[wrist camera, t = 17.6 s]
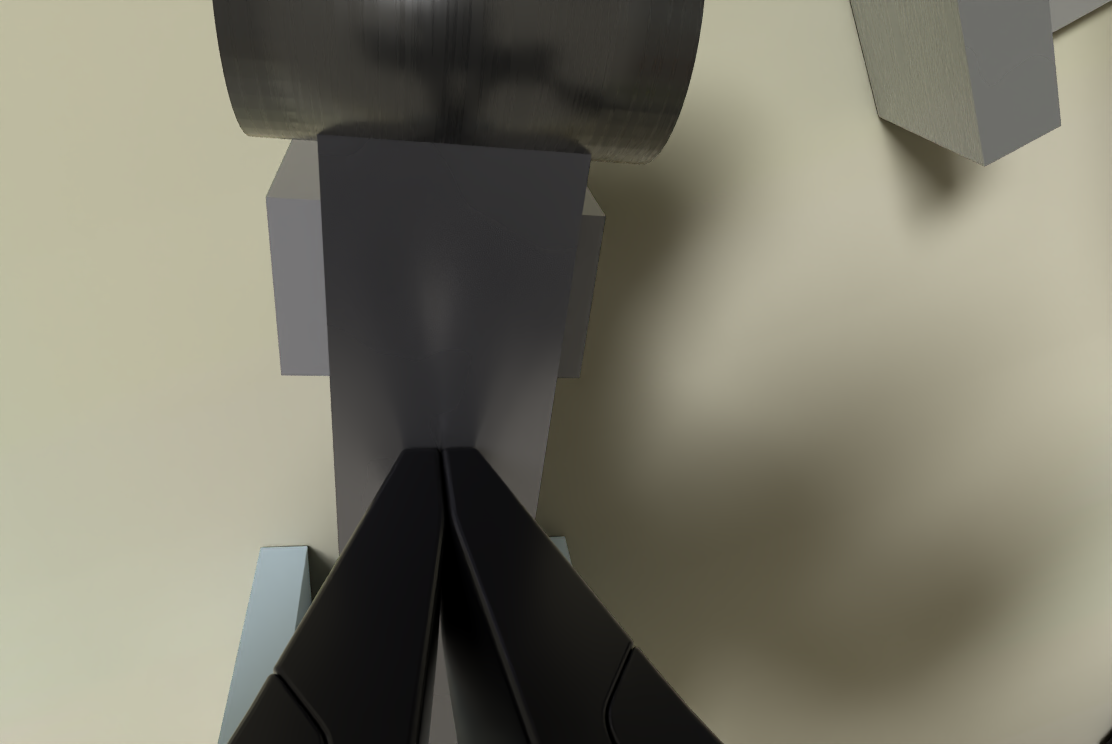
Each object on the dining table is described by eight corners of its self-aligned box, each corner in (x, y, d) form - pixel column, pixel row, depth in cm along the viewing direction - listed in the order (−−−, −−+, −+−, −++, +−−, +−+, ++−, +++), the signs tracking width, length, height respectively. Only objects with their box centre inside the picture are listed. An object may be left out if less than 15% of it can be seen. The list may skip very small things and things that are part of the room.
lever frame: (633, 134, 13) (828, 338, 7) (535, 710, 22) (584, 1019, 16) (205, 99, 12) (-5, 320, 6) (283, 732, 20) (233, 1080, 14)
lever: (645, -126, 7) (733, -117, 5) (514, 688, 15) (531, 816, 13) (253, -187, 6) (188, -205, 5) (325, 703, 14) (312, 841, 12)
